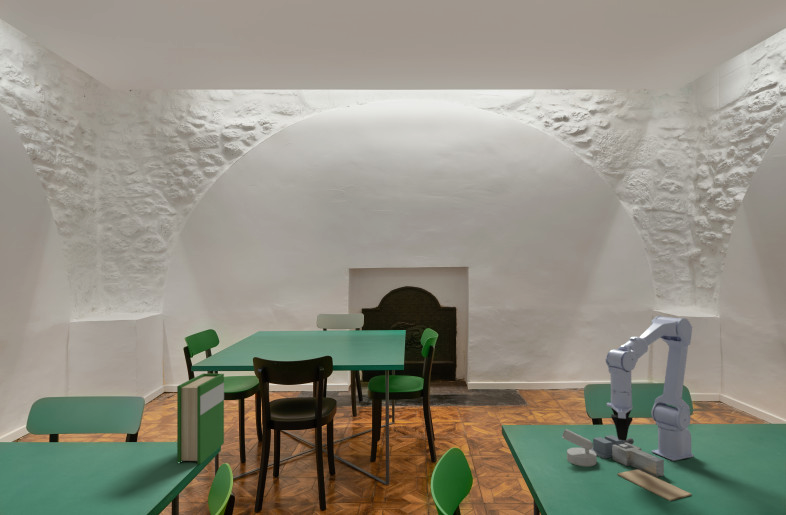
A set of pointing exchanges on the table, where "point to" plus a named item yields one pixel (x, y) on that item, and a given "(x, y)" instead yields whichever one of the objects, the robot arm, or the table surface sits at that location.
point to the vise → (608, 445)
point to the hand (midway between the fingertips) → (621, 435)
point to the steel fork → (638, 459)
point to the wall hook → (580, 450)
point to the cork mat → (654, 484)
